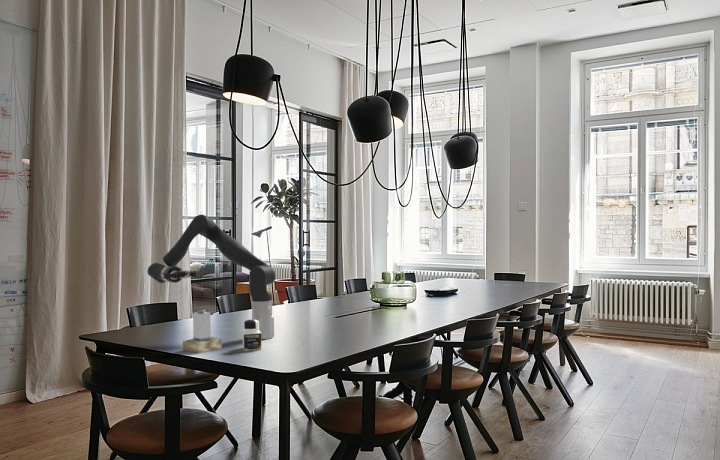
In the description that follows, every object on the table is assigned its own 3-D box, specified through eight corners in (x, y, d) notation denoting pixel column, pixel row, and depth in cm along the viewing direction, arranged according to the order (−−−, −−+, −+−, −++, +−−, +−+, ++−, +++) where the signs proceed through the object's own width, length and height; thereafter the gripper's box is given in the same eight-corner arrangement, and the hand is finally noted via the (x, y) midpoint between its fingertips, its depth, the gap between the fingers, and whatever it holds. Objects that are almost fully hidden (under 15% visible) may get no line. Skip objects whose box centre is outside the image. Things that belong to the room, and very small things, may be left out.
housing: (193, 338, 244) (192, 310, 244) (204, 337, 247) (203, 309, 247) (199, 341, 239) (199, 311, 239) (211, 339, 242) (210, 310, 242)
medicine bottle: (244, 351, 238) (243, 321, 238) (242, 347, 245) (242, 319, 245) (261, 349, 240) (261, 320, 240) (259, 346, 247) (259, 318, 247)
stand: (205, 345, 251) (205, 335, 251) (221, 348, 245) (221, 338, 245) (182, 350, 241) (182, 340, 241) (198, 353, 235) (198, 342, 235)
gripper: (156, 266, 265) (170, 267, 252) (186, 265, 274) (201, 265, 261) (156, 283, 265) (170, 285, 252) (186, 281, 274) (201, 282, 261)
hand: (186, 275), depth 257 cm, fingers open, 8 cm apart
